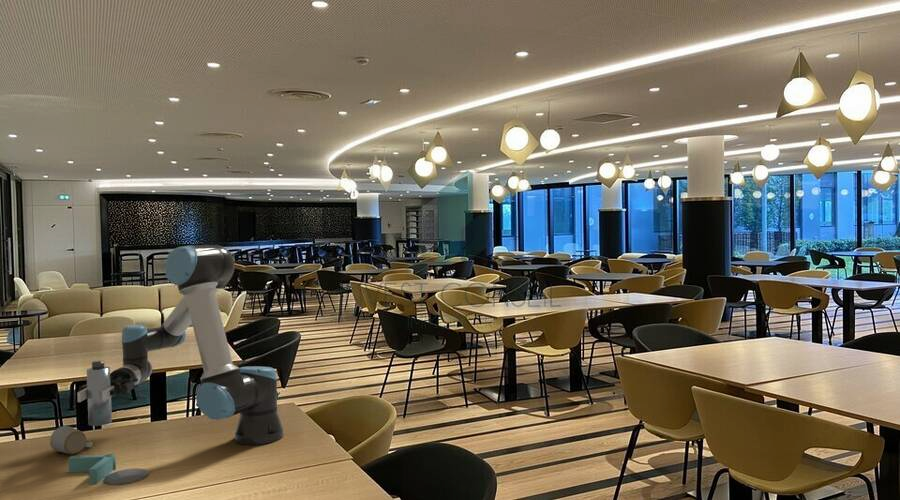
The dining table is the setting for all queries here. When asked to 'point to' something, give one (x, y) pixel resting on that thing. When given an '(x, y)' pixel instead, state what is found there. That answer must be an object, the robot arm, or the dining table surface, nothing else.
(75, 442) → the ceramic mug
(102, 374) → the bottle
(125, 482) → the coaster
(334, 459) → the dining table surface
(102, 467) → the bent rail
